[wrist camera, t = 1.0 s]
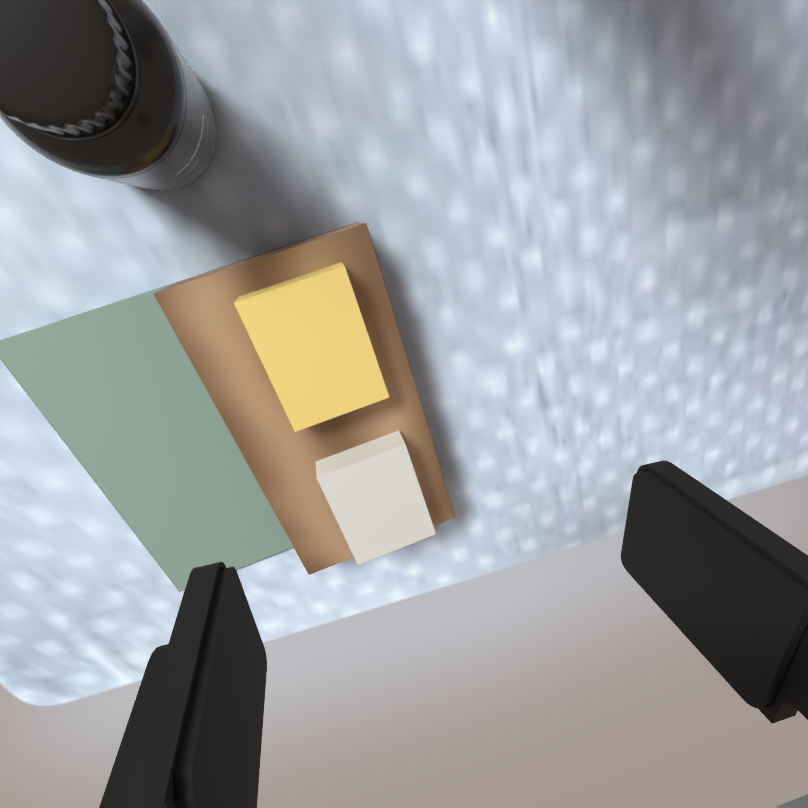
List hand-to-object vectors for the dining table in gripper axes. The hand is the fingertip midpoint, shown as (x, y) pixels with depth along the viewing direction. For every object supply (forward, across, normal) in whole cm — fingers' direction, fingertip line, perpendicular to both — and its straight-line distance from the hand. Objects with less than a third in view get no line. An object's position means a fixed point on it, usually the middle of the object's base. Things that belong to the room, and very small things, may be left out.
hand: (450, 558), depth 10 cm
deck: (+22, +2, +6) cm, 23 cm away
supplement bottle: (+23, +9, -13) cm, 27 cm away
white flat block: (+18, 0, +11) cm, 21 cm away
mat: (+22, +13, +8) cm, 27 cm away
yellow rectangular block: (+18, +2, 0) cm, 19 cm away
